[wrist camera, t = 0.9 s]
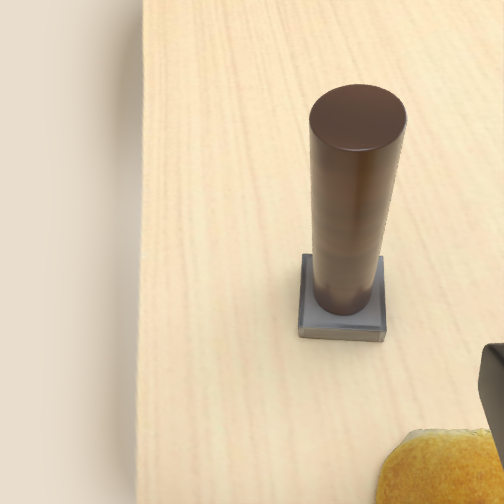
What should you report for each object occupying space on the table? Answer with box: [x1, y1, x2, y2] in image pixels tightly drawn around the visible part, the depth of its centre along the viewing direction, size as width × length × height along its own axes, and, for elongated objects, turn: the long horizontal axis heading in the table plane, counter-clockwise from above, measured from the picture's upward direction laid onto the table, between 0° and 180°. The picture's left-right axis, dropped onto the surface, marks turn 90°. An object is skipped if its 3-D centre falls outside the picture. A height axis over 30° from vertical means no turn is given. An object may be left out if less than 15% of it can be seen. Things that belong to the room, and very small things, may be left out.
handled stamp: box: [298, 84, 407, 342], centre depth 20 cm, size 4×4×14 cm
